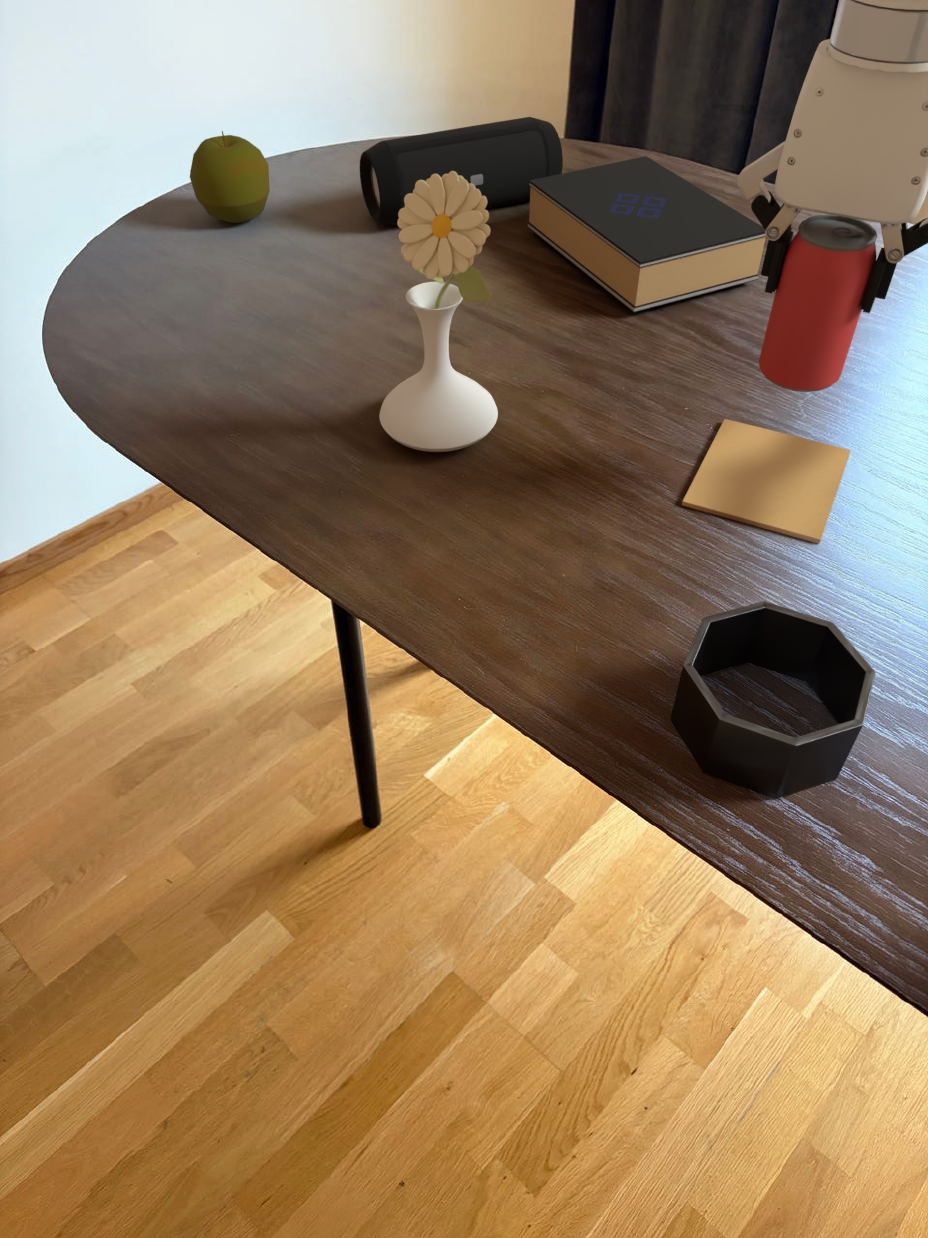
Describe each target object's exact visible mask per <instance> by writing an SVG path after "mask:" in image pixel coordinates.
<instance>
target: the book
mask: <svg viewBox="0 0 928 1238" xmlns="http://www.w3.org/2000/svg"><path fill="white" fill-rule="evenodd" d="M529 181H530V182H529V186H530V187H531V190H530V200H529V216H528V217H529V218H528V222H527V226H526V227H527V228H528V229H530V231H532V232H533V233H534V234H536V235H537V236H538V237H540V239H542V240H543V241H544V242H545V243H546V244H548V245H549V246H551V247H552V248H553V249H554V250H556V251H557V252H558V253H559V254H561V255H562V256H563V257H564V258H565V259H567V260H568V261H569V262H570V263H572V264H573V265H574V266H576V268H578V269H579V270H580V271H582V273H584V274H585V275H586V276H588V277H589V278H590V279H591V280H593V281H594V282H595V283H597V284H598V285H599V286H600V287H601V288H603V289H604V290H605V291H607V293H609V294H610V295H612V296H613V297H614V298H615V299H616V300H618V302H620V303H621V304H623V305H624V306H625V307H626V308H628V309H629V310H630V311H631V312H633V313H637V312H642V311H645V310H648V309H653V308H657V307H661V306H664V305H667V304H672V303H675V302H678V301H682V300H687V299H691V298H694V297H697V296H701V295H705V294H709V293H713V292H716V291H721V290H724V289H728V288H733V287H735V286H740V285H744V284H746V283H750V282H754V281H757V280H759V276H760V274H759V271H760V266H761V262H762V258H763V254H764V248H765V244H766V239H767V238H766V236H765V229H764V228H763V226H762V225H761V224H760V223H757V222H756V221H754V220H753V219H751V218H749V217H748V216H746V215H745V214H743V213H742V212H740V211H738V210H736V209H734V208H733V207H731V206H729V205H728V204H726V203H725V202H723V201H721V200H719V199H718V198H716V197H714V196H713V195H711V194H709V192H706V191H705V190H703V189H701V188H700V187H698V186H696V185H694V184H693V183H691V182H690V181H688V180H687V179H685V178H683V177H682V176H680V175H678V174H676V173H675V172H673V171H671V170H670V169H668V168H666V167H665V166H663V165H661V164H660V163H658V162H656V161H654V160H653V159H652V158H650V157H648V156H646V155H645V156H644V155H643V156H640V157H636V158H635V157H634V158H631V159H625V160H620V161H615V162H611V163H607V164H601V165H597V166H591V167H587V168H582V169H578V170H573V171H568V172H562V174H558V175H553V176H548V177H543V178H539V179H534V180H529Z"/></svg>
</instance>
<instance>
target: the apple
mask: <svg viewBox="0 0 928 1238" xmlns="http://www.w3.org/2000/svg"><path fill="white" fill-rule="evenodd" d="M221 134H222V135H217V136H212V137H209V138H205V139H204V140H203V141H201V142H200V144H199V146H198V147H197V148H196V150H195V151H194V153H193V155H192V160H191V166H190V171H189V180H190V183H191V186H192V190H193V193H194V196H195V199H196V200H197V201H198V203H200V205H201V206H202V207H203V208H204V210H205V211H206V212H207V213H208V215H209V216H211V217H212V218H215V219H218V220H221V221H223V222H226V223H231V224H243V223H246V222H249V221H251V220H253V219H254V218H257V217H259V216H261V214H262V213H263V212H264V210H265V207H266V204H267V201H268V198H269V194H270V191H271V190H270V165H269V163H268V161H267V160H266V158H265V156H264V154H263V153H262V151H261V149H260V148H258V147H257V146H256V145H254V144H253V143H251V142H250V141H249V140H247V139H246V138H243V137H241V136H238V135H233V134H227V135H226V134H224V131H223V130H221Z"/></svg>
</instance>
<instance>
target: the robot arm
mask: <svg viewBox="0 0 928 1238" xmlns="http://www.w3.org/2000/svg"><path fill="white" fill-rule="evenodd" d="M797 98H798V99H797V102H796V104H795V107H794V111H793V114H792V117H791V120H790V124H789V128H788V131H787V134H786V137H785V140H784V141H782V142H781V143H779V144H778V145H777V146H775V147H774V148H772V149H771V150H769V151H768V152H766V153H765V154H763V155H762V156H760V157H759V158H757V159H756V160H754V161H753V162H751V163H750V164H748V165H746V166H745V167H743V168H742V170H741V171H740V172H739V174H738V175H737V177H736V183H737V186H738V188H739V189H740V191H741V192H742V194H743V195H744V197H745V199H746V201H748V203H749V204H750V208H751V211H752V213H753V215H754V216H755V218H756V220H757V221H758V222H759V224H760V225H761V226H762V227H763V228H764V229H765V236H766V239H767V240H768V241H767V244H766V248H765V254H764V258H763V263H762V267H761V271H760V276H762V277H767V278H766V279H767V280H766V284H765V288H764V293H766V294H767V293H768V294H772V293H775V292H776V289H777V285H778V281H779V277H780V273H781V269H782V264H783V260H784V256H785V253H786V250H787V248H788V246H789V244H790V243H791V241H792V240H793V238H794V237H793V236H794V231H793V227H792V226H793V225H792V223H793V222H794V221H795V219H796V218H797V216H798V215H799V214H800V213H801V211H802V210H803V211H809V212H814V213H819V214H824V215H828V214H831V215H836V216H842V217H848V218H854V219H859V220H862V221H865V222H867V221H868V222H872V223H879V224H880V230H881V237H882V244H883V247H881V248H880V250H879V252H878V255H877V257H876V263H875V266H874V269H873V272H872V275H871V278H870V282H869V285H868V288H867V291H866V294H865V297H864V301H863V304H862V307H861V310H862V312H863V313H866V314H870V313H871V311H872V308H873V305H874V304H875V301H876V299H880V300H886V298H887V294H888V292H889V288H890V286H891V283H892V281H893V277H894V274H895V272H896V269H897V265H898V263H900V262H901V261H902V260H903V259H904V258H905V257H907V255H908V256H909V255H910V254H912V253H913V252H915V251H917V250H919V249H920V248H922V247H924V246H925V245H927V244H928V217H926V218H923V219H922V220H919V221H918V222H917V223H915V224H913V225H912V226H909V227H908V223H909V222H911V221H913V220H914V219H915V218H916V217H917V216H918V214H919V212H920V211H921V208H922V206H923V204H924V202H925V200H926V198H927V197H926V196H927V194H928V0H838V3H837V8H836V12H835V17H834V19H833V25H832V29H831V33H830V37H829V38H828V39H824V40H822V41H821V42H820V43H818V46H817V47H816V51H814V55H813V58H812V60H811V62H810V65H809V67H808V70H807V73H806V76H805V78H804V81H803V83H802V87H801V89H800V92H799V95H798V97H797ZM776 171H777V172H776ZM774 172H776V176H775V181H774V195H773V193H772V192H771V191H770V190H768V189H767V186H766V184H765V181H764V179H766V178H767V177H768V176H770V175H771V174H773V173H774ZM776 199H777V200H778V201H779V202H780V203H782V205H781V206H780V204H779V203H778V201H777V200H776Z"/></svg>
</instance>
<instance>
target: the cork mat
mask: <svg viewBox="0 0 928 1238" xmlns="http://www.w3.org/2000/svg"><path fill="white" fill-rule="evenodd" d="M851 452H852V449H849V448H845V447H840V446H836V445H833V444H829V443H826V442H825V443H824V442H820V441H818V440H817V441H816V440H813V439H808V438H804V437H801V436H796V435H793V434H788V433H785V432H780V431H776V430H772V429H768V428H764V427H760V426H755V425H752V424H748V423H744V422H739V421H737V420H732V419H728V418H723V421H722V423H721V425H720V426H719V428H718V430H717V432H716V434H715V437H714V438H713V441H712V442H711V444H710V446H709V448H708V449H707V451H706V454H705V455H704V458H703V460H702V462H701V464H700V466H699V468H698V470H697V471H696V474H695V475H694V477H693V480H692V481H691V483H690V485H689V488H688V489H687V491H686V492H685V493H686V494H685V496H684V497H683V499H682V502H681V506H683V507H685V508H686V507H687V508H690V509H694V510H697V511H701V512H703V513H707V514H712V515H715V516H717V517H721V518H726V519H729V520H733V521H736V522H740V523H743V524H747V525H750V526H753V527H758V528H761V529H764V530H768V531H772V532H776V533H778V534H783V535H786V536H790V537H793V538H796V539H799V540H800V539H801V540H804V541H808V542H810V543H814V544H818V545H819V544H821V541H822V538H823V535H824V532H825V529H826V526H827V523H828V521H829V517H830V514H831V512H832V508H833V505H834V502H835V499H836V496H837V493H838V490H839V488H840V484H841V481H842V479H843V476H844V472H845V470H846V466H847V464H848V460H849V459H850V458H849V457H850V455H851Z"/></svg>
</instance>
